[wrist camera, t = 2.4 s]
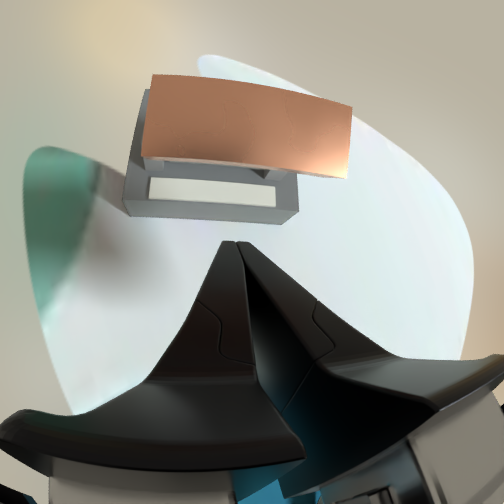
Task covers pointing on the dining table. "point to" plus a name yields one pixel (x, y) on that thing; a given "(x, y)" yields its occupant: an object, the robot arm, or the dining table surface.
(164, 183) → the breaker housing
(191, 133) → the toggle lever
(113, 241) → the dining table surface
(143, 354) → the dining table surface
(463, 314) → the dining table surface
